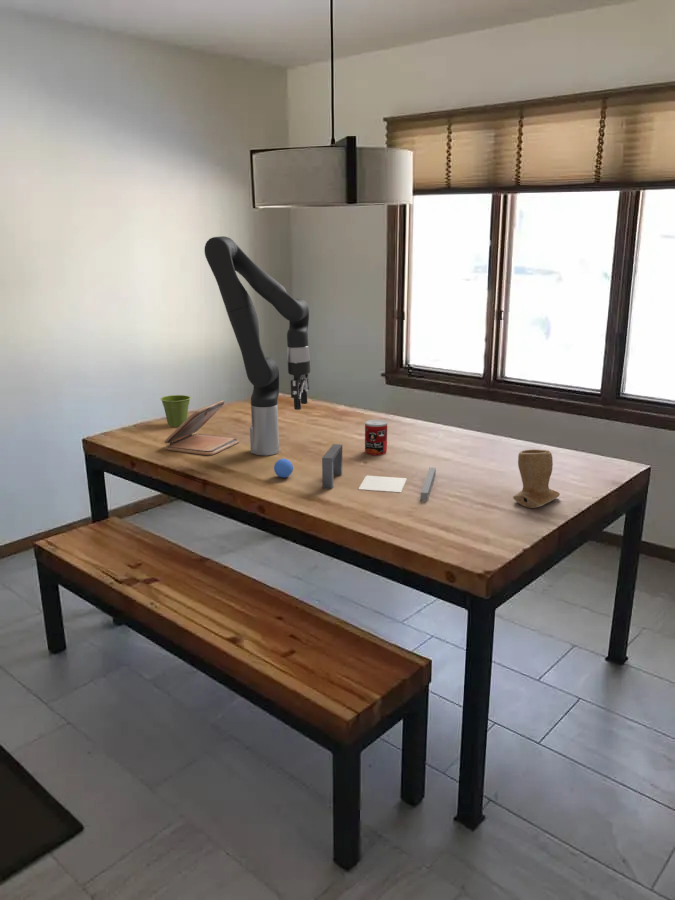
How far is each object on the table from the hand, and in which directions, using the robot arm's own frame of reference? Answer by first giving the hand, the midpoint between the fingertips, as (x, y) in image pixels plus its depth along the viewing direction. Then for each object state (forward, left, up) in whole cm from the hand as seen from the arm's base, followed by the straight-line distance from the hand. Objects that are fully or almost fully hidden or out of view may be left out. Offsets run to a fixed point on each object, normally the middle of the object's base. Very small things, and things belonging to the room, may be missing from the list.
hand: (301, 406), depth 259 cm
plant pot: (-59, +28, -17) cm, 68 cm away
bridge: (+17, -25, -17) cm, 35 cm away
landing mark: (+33, -25, -17) cm, 45 cm away
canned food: (+25, +8, -17) cm, 31 cm away
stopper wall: (+47, -25, -17) cm, 56 cm away
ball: (+1, -25, -14) cm, 29 cm away
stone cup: (+78, -30, -18) cm, 85 cm away
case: (-38, +3, -18) cm, 42 cm away
